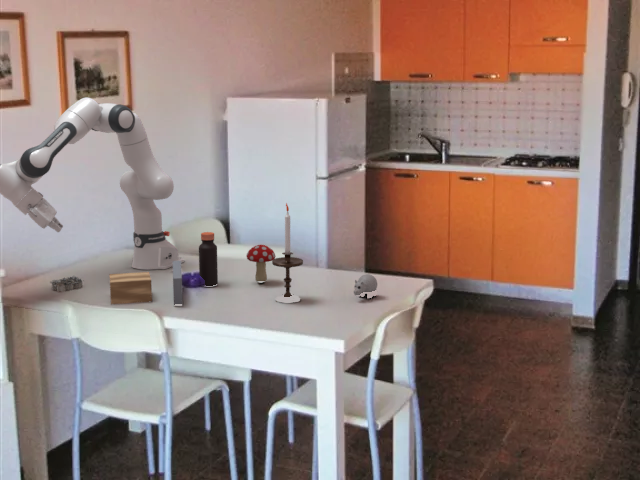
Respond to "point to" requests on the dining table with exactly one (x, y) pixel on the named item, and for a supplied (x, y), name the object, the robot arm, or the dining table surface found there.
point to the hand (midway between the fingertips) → (61, 229)
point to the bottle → (208, 259)
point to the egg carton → (66, 283)
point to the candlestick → (287, 256)
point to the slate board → (177, 282)
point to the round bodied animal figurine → (365, 284)
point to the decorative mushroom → (260, 260)
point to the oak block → (130, 287)
